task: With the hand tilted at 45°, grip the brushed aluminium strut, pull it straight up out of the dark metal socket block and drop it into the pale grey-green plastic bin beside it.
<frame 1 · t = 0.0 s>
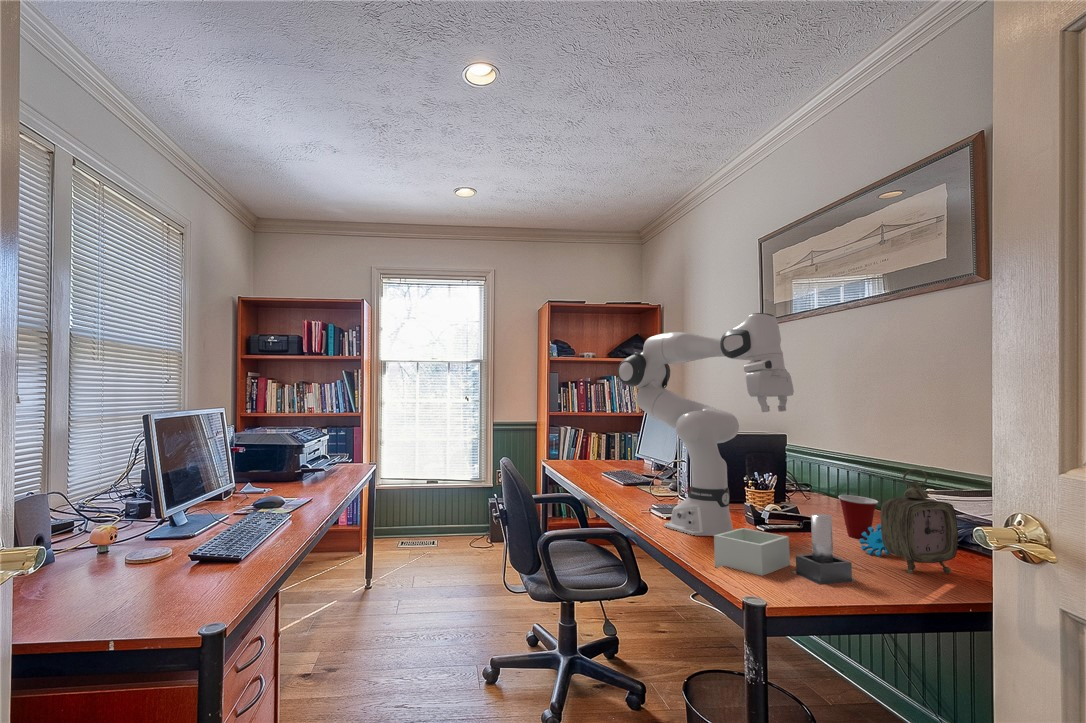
hand: (774, 411, 167), 39 cm above the table, tool pointing down, fingers open, 8 cm apart
gear: (881, 555, 154), on the table
strut: (823, 576, 133), point 1 cm above the table, touching socket block
tabletop clock: (918, 572, 138), on the table
socket block: (823, 580, 133), on the table
bin: (752, 568, 143), on the table
plastic cup: (859, 537, 173), on the table
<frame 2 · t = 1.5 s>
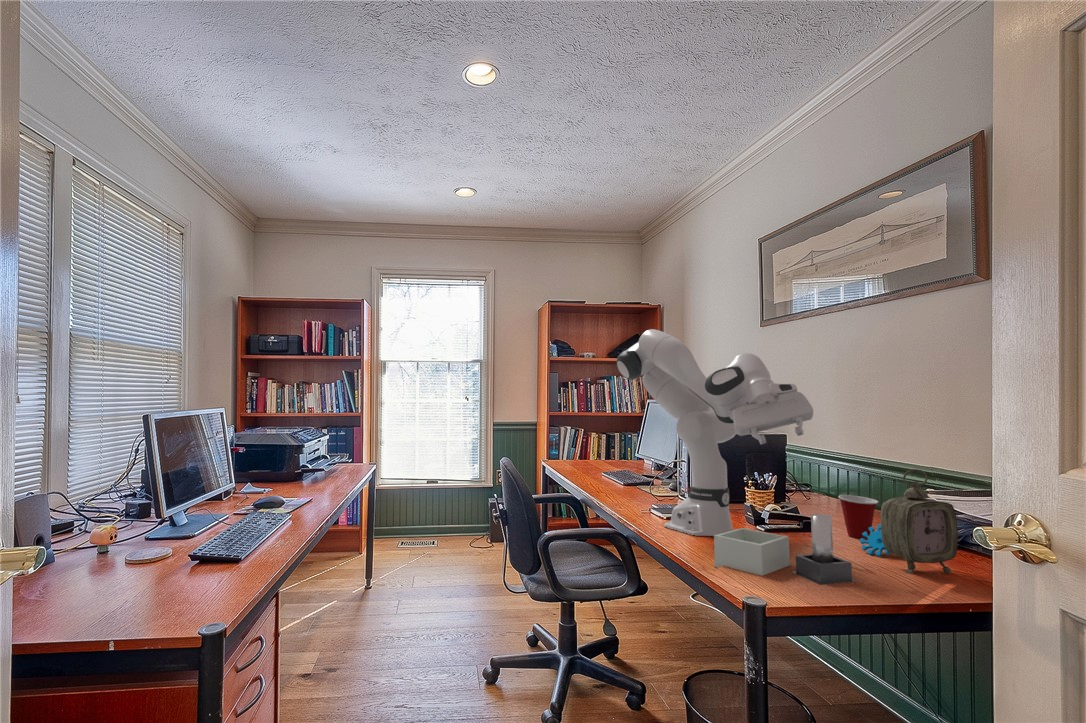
hand: (781, 438, 146), 32 cm above the table, tool tilted 45°, fingers open, 8 cm apart
nothing on the table moved.
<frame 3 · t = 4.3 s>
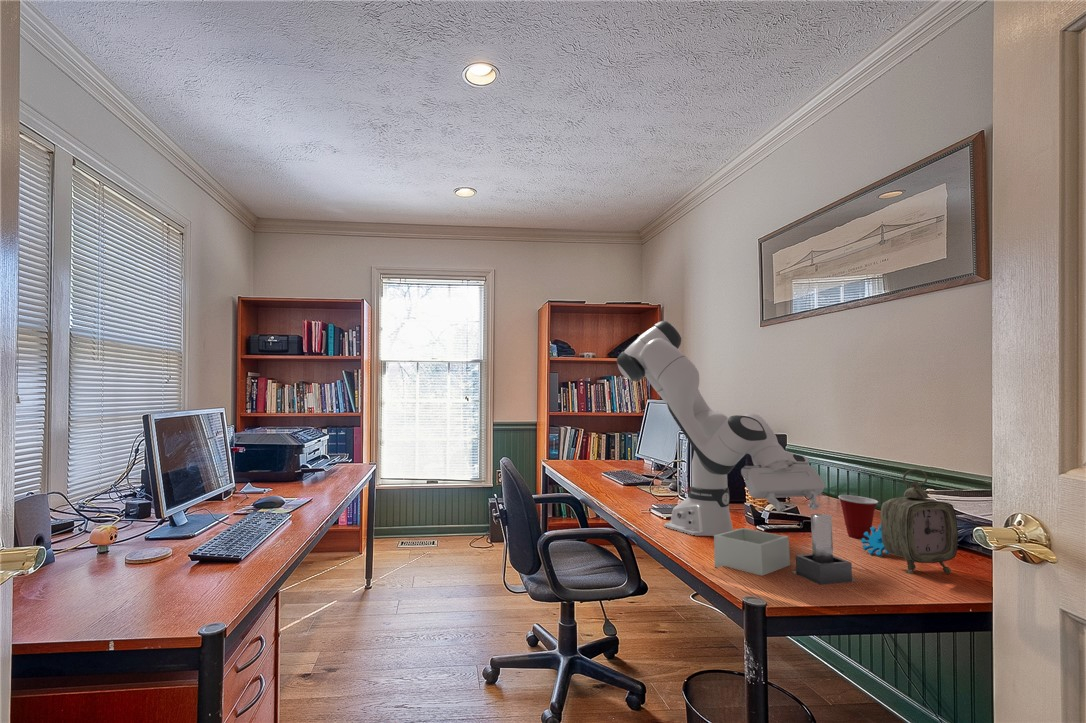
hand: (798, 509, 140), 15 cm above the table, tool tilted 45°, fingers open, 8 cm apart
nothing on the table moved.
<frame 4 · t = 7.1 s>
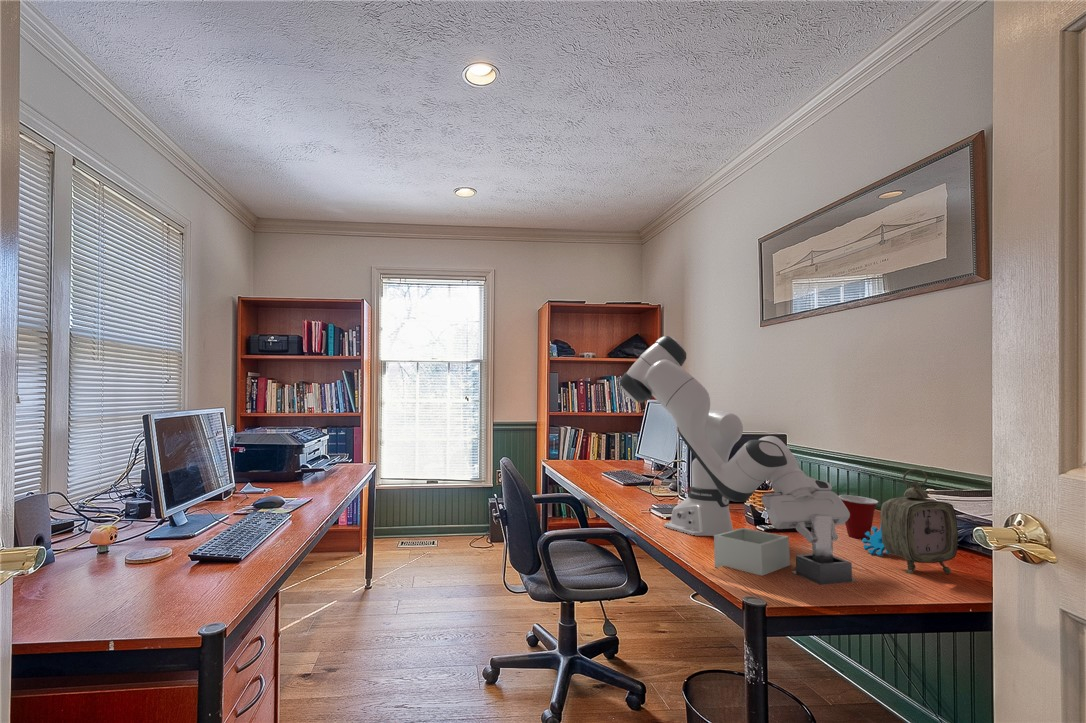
hand: (823, 540, 133), 9 cm above the table, tool tilted 45°, fingers closed on strut, 4 cm apart
strut: (823, 576, 133), point 1 cm above the table, touching gripper, socket block
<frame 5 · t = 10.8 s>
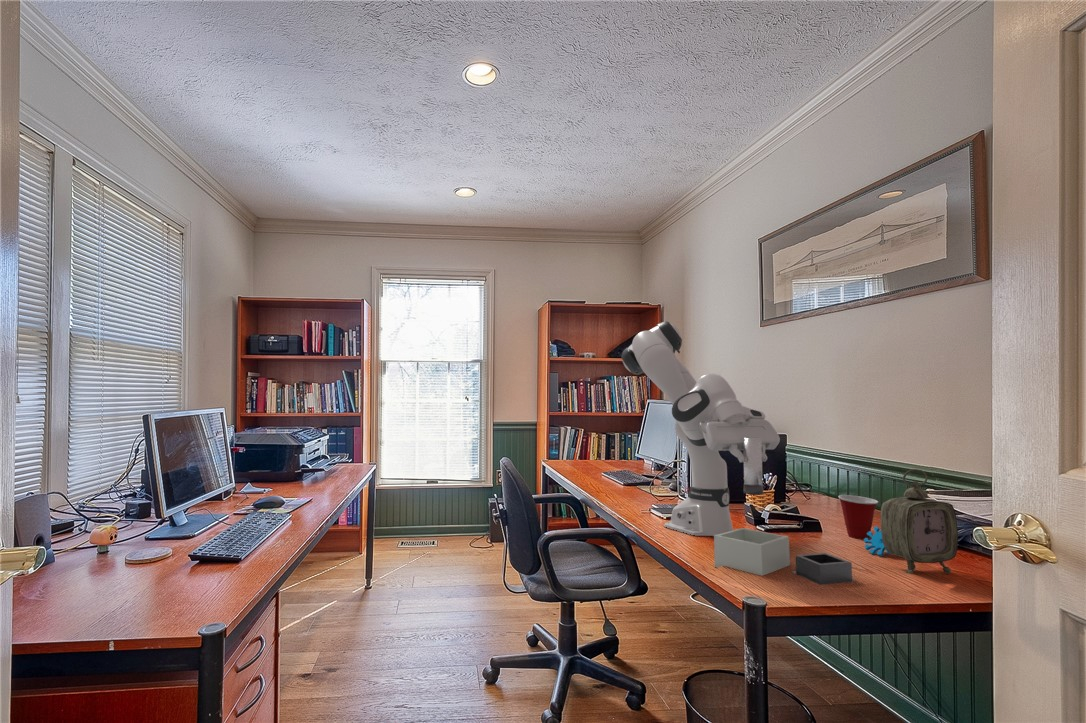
hand: (754, 460, 144), 27 cm above the table, tool tilted 45°, fingers closed on strut, 4 cm apart
strut: (753, 493, 144), point 19 cm above the table, touching gripper
when the fingers open (12 cm above the table, at t = 14.5 s): strut drops 3 cm, resting on bin.
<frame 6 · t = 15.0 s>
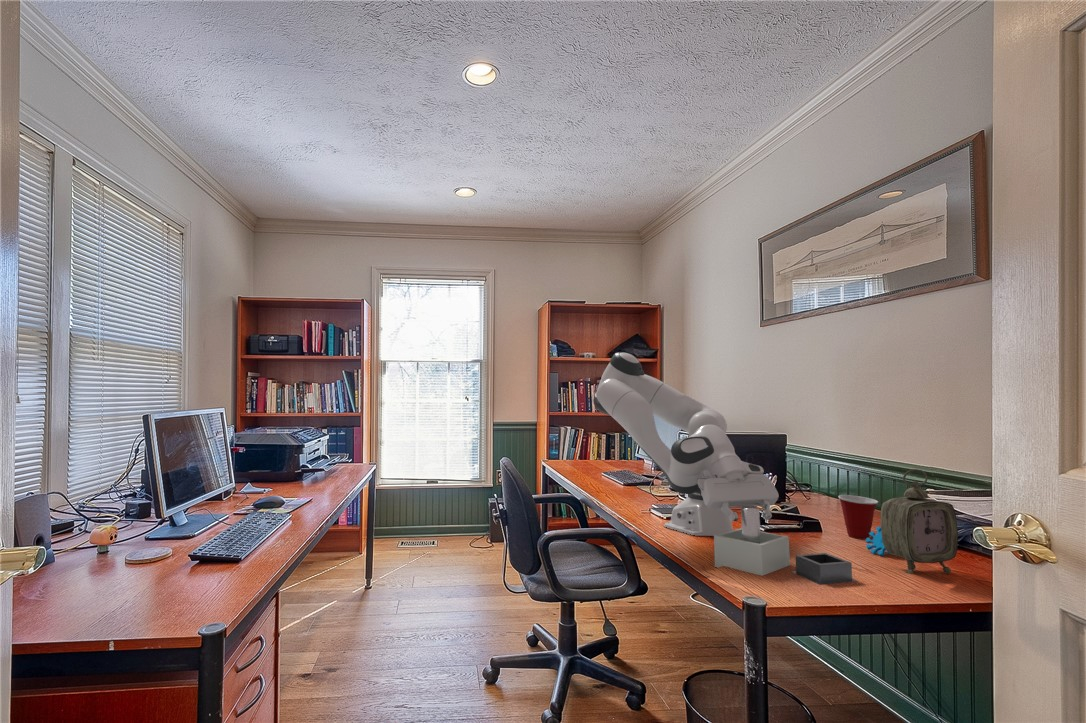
hand: (752, 519, 143), 12 cm above the table, tool tilted 45°, fingers open, 8 cm apart
strut: (751, 564, 143), point 1 cm above the table, touching bin
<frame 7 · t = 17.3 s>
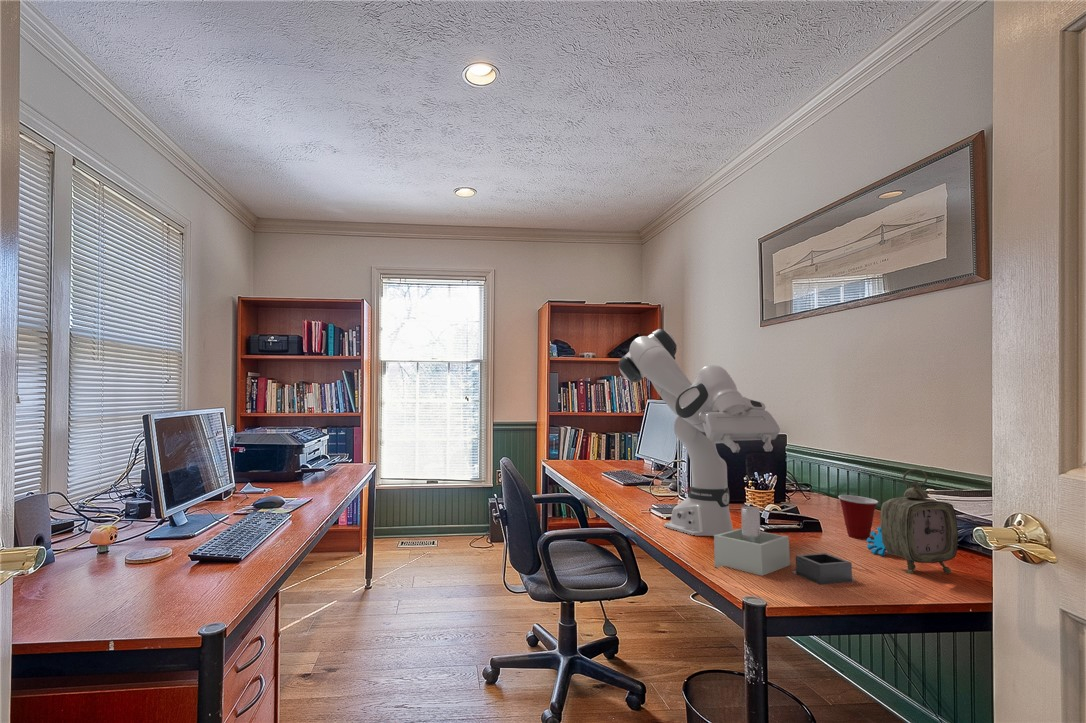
hand: (753, 450, 145), 30 cm above the table, tool tilted 45°, fingers open, 8 cm apart
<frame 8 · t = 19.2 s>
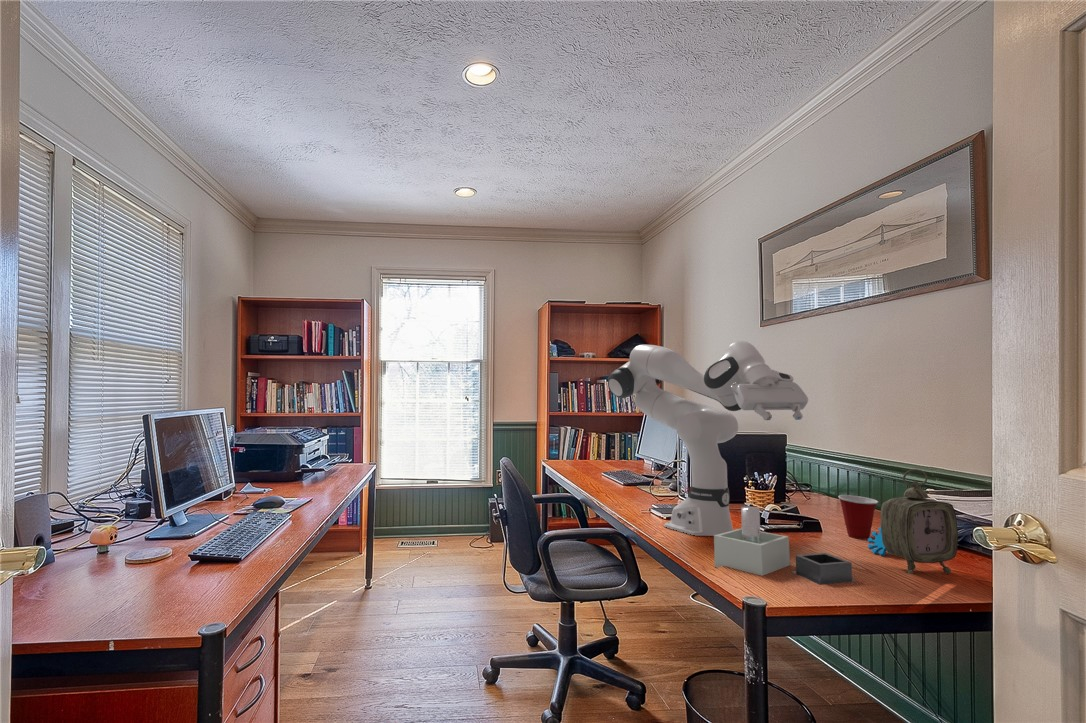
hand: (784, 418, 152), 37 cm above the table, tool tilted 45°, fingers open, 8 cm apart
at the end: strut inside the target area on the bin (0.0 cm from its centre), point 1.0 cm above the bin's base; the gripper is holding nothing; strut moved 16.5 cm from its start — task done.
